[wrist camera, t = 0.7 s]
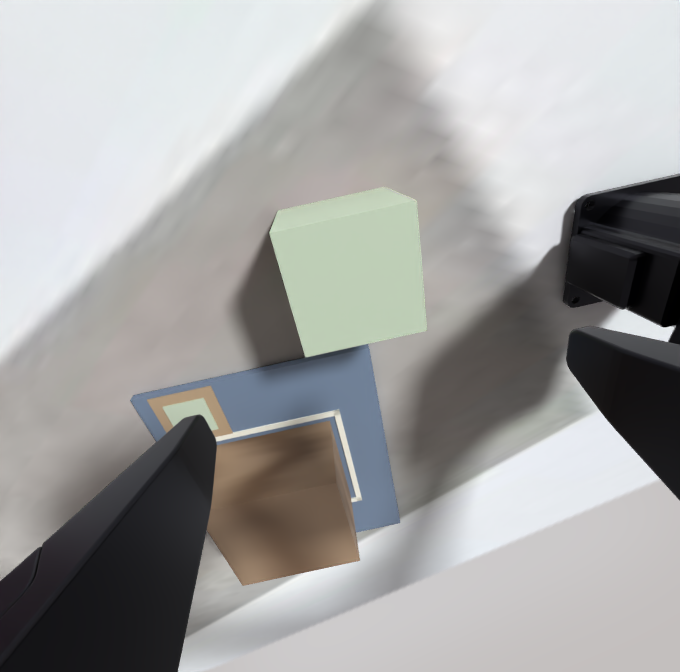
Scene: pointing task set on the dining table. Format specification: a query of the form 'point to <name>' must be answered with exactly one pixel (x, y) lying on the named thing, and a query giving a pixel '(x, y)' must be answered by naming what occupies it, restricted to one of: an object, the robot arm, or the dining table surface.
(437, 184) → the dining table surface
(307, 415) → the board
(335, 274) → the sage cube
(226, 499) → the walnut base block
